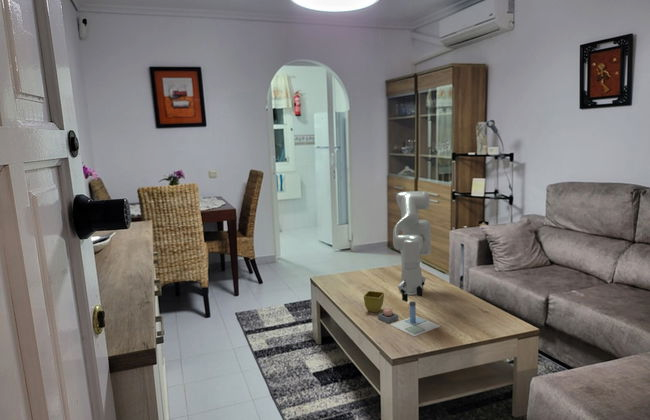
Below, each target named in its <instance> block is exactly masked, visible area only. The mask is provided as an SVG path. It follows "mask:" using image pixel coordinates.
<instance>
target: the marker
mask: <svg viewBox="0 0 650 420" xmlns="http://www.w3.org/2000/svg"><path fill="white" fill-rule="evenodd" d="M408 304H409V318H410V323H416V316H417V315H416V309H417V308H416V304H417V302H416V301H413V300H411V301H410V302H409V303H408Z"/></svg>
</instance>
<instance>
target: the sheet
mask: <svg viewBox="0 0 650 420" xmlns="http://www.w3.org/2000/svg"><path fill="white" fill-rule="evenodd" d="M389 324H390V323H389ZM390 326H391V327H393V328H395V329H398V330H400V331H401V332H404V333H406V334H407V335H409V336H411V337H413V338H415V337H418V336H420V335H422V334H425V333H427V332H430V331H432V330H434V329H437V328H439V327H441V325H440V324H437V323H435V322H432V321H431V320H428V319H425V318H423V317H421V316H418V315H416V323H410V317H408V318H407V317H406V318H405V319H402V320H398V321H397V322H392V323H391V324H390Z"/></svg>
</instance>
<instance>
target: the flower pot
mask: <svg viewBox="0 0 650 420" xmlns="http://www.w3.org/2000/svg"><path fill="white" fill-rule="evenodd" d="M384 300H385V292H382V291H374V290H368V291H367V292H366V293H365V294H363V301H364V306H365V308H366V310H367V311H368V312H372V313H379V311H380V310H381V308H382V306H383V305H384V304H383V303H384Z"/></svg>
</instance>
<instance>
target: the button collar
mask: <svg viewBox="0 0 650 420" xmlns="http://www.w3.org/2000/svg"><path fill="white" fill-rule="evenodd" d="M377 316H378V317H377V319H378V320H380V321H382V322H384V323H386V324H390V323H394V322H395V321H399V314H396V312H393V315H392V316H384V312H380V313H379V314H377Z"/></svg>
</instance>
